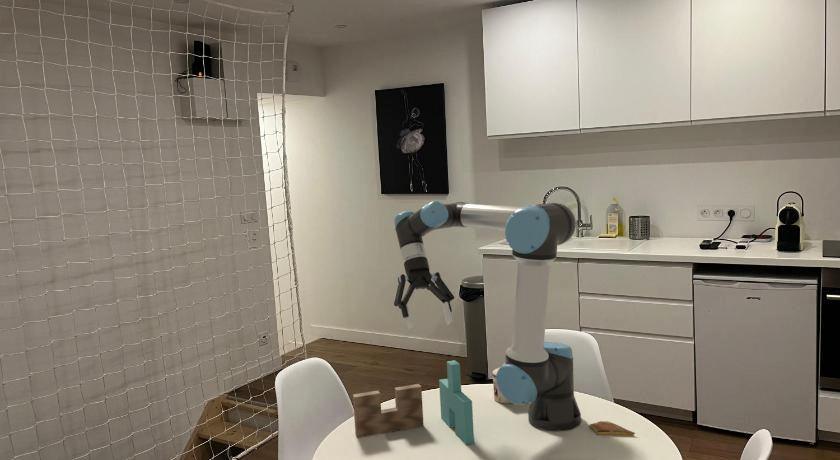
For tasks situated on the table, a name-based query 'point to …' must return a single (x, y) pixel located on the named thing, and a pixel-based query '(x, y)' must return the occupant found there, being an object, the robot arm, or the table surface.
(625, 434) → the pie slice
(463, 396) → the teal slotted plate
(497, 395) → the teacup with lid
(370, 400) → the walnut slotted plate
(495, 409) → the table surface
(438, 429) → the table surface
